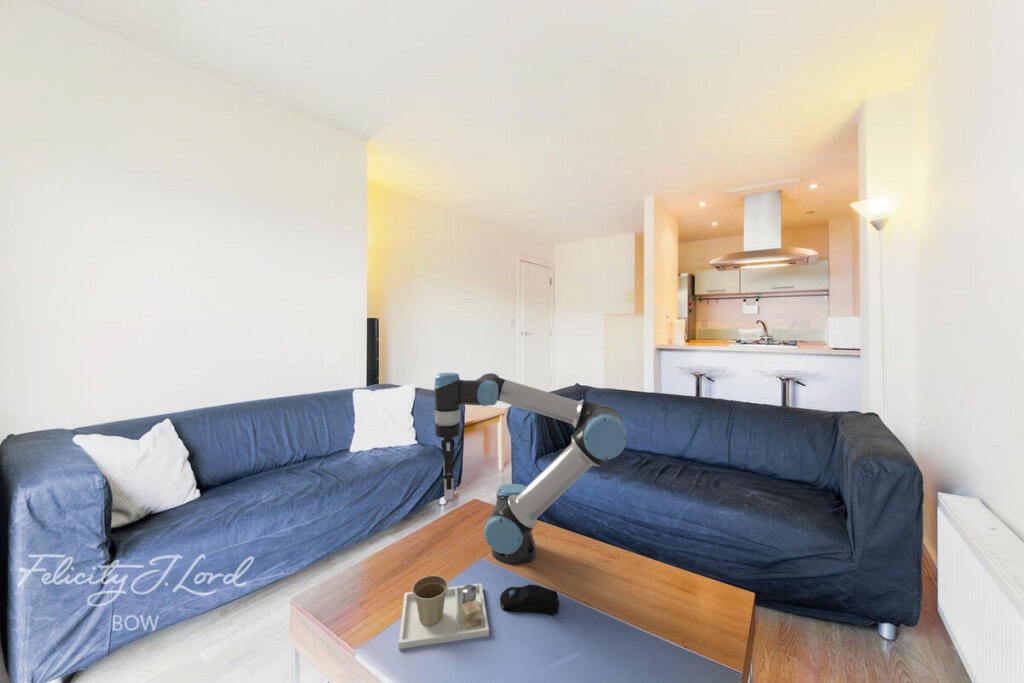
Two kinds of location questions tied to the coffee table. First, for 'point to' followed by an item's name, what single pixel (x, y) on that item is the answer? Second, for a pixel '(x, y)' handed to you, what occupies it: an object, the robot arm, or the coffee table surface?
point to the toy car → (530, 600)
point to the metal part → (468, 594)
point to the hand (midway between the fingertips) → (448, 489)
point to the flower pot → (430, 598)
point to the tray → (447, 627)
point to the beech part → (471, 614)
